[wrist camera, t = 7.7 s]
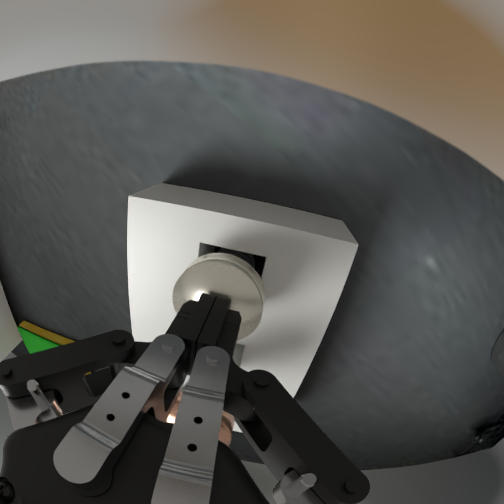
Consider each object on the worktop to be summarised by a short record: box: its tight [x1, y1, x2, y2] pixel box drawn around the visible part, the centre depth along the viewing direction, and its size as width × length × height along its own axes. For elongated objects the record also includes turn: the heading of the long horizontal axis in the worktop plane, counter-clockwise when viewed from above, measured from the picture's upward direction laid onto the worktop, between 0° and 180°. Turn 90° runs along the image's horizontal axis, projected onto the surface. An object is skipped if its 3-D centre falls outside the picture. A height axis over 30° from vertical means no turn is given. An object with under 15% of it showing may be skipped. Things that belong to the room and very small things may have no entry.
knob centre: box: [167, 375, 235, 446], centre depth 15 cm, size 5×5×6 cm
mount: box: [127, 183, 359, 432], centre depth 22 cm, size 14×22×5 cm, turn 169°
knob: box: [172, 247, 265, 341], centre depth 16 cm, size 5×5×6 cm
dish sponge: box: [17, 321, 91, 375], centre depth 31 cm, size 7×14×2 cm, turn 88°
